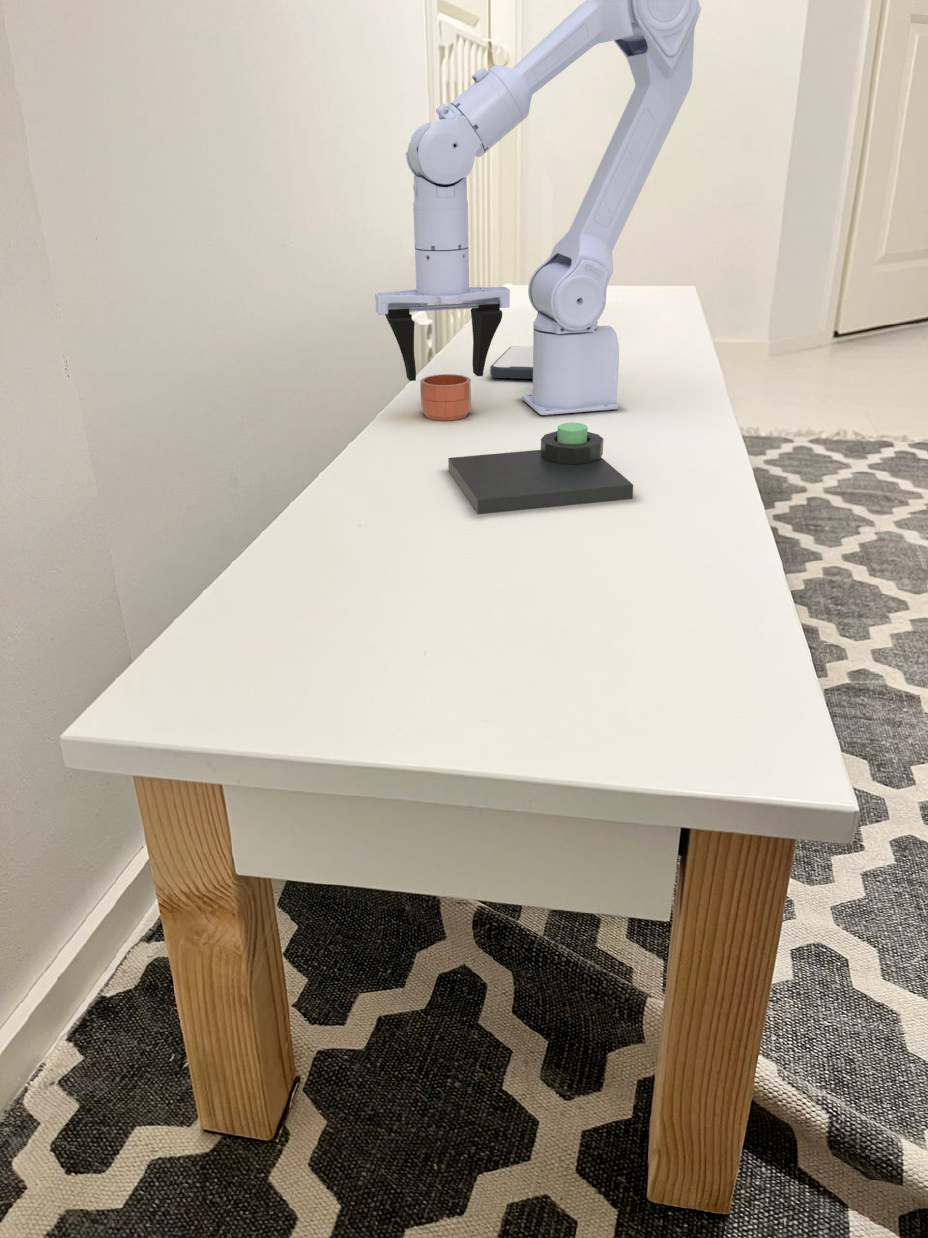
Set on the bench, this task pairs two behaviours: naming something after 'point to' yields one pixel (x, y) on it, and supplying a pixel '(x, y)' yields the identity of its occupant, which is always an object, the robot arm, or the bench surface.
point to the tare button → (572, 433)
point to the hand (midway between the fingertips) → (444, 376)
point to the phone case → (514, 363)
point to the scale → (540, 477)
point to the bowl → (445, 396)
